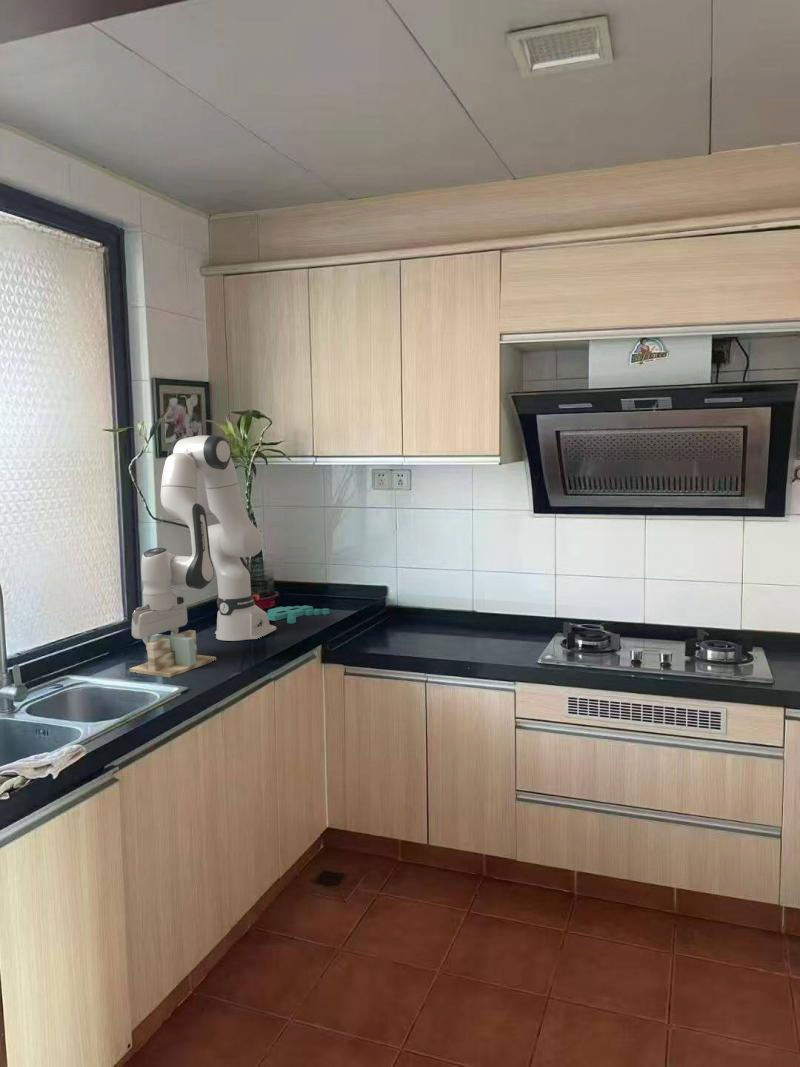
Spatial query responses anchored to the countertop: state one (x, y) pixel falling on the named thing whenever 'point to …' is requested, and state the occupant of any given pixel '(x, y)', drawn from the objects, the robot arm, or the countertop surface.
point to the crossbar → (180, 648)
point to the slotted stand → (168, 658)
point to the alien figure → (293, 612)
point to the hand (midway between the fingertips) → (161, 646)
